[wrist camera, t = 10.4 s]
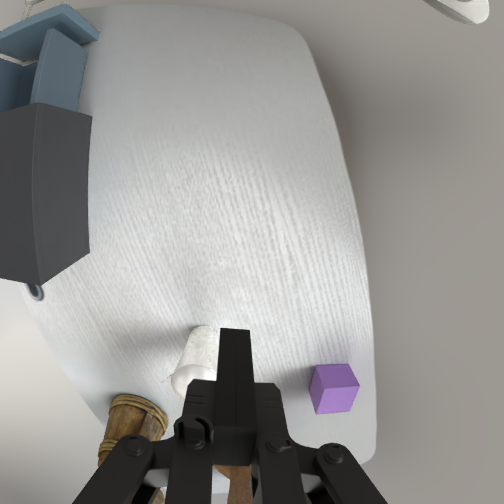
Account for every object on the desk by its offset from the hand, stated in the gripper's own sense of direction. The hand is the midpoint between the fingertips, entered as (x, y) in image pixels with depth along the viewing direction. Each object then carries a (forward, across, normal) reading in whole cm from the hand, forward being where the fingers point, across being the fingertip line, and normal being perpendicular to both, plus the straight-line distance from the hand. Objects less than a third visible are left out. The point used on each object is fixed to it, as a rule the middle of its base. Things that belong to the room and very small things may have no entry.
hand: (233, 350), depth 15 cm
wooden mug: (+15, -11, -23) cm, 30 cm away
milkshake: (+15, -3, -9) cm, 18 cm away
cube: (+15, +13, -14) cm, 25 cm away
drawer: (+14, -23, +20) cm, 33 cm away
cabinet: (+15, -22, +7) cm, 28 cm away
